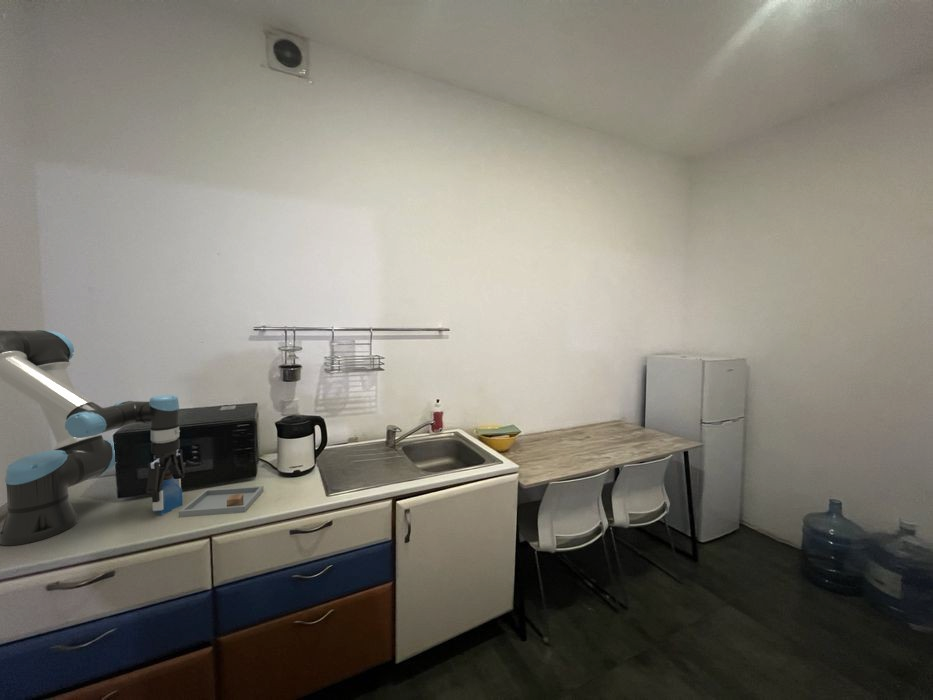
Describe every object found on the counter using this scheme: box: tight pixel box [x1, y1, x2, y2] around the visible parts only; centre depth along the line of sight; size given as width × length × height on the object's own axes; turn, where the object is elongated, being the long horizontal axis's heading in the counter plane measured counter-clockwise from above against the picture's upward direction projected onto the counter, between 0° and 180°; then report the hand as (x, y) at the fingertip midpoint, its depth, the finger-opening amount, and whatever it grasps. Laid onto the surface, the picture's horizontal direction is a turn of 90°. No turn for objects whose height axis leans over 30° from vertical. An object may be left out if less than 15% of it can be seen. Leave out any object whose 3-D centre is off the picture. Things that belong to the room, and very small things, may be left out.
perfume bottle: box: [151, 472, 184, 516], centre depth 119 cm, size 6×6×12 cm
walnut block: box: [227, 494, 243, 507], centre depth 119 cm, size 4×4×4 cm
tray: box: [178, 485, 264, 518], centre depth 123 cm, size 20×16×2 cm
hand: (167, 503), depth 120 cm, fingers closed on perfume bottle, 9 cm apart
